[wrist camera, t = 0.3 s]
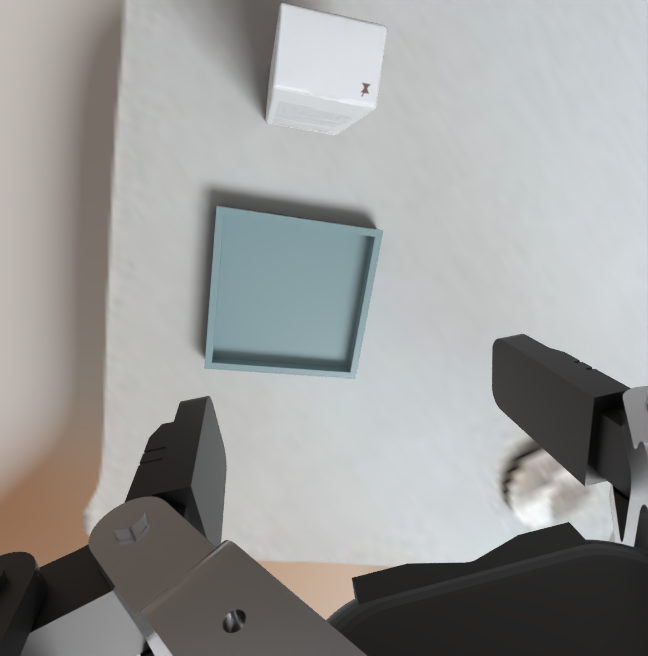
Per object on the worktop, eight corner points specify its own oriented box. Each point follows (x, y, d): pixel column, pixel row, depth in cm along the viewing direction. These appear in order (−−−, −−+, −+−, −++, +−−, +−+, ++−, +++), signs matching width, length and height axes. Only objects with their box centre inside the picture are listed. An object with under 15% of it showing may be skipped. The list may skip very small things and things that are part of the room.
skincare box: (343, 79, 34) (392, 24, 23) (336, 136, 35) (378, 111, 24) (268, 63, 33) (279, -3, 21) (262, 123, 34) (271, 91, 23)
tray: (218, 205, 35) (216, 206, 33) (377, 229, 38) (383, 230, 36) (206, 360, 39) (204, 368, 37) (350, 371, 42) (355, 378, 40)
